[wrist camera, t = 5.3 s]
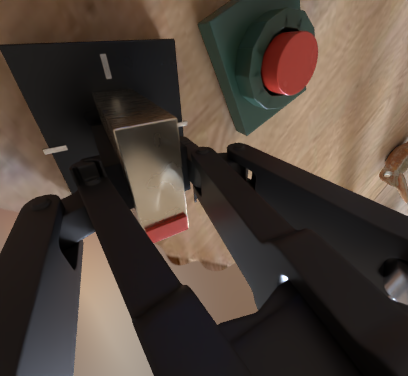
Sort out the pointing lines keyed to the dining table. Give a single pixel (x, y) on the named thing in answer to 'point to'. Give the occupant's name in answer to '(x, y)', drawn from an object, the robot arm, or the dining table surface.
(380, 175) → the oil lamp
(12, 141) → the dining table surface
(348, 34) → the dining table surface
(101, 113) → the silver rectangular block
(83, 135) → the black stand base
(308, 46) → the button
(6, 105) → the dining table surface
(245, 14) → the button housing
